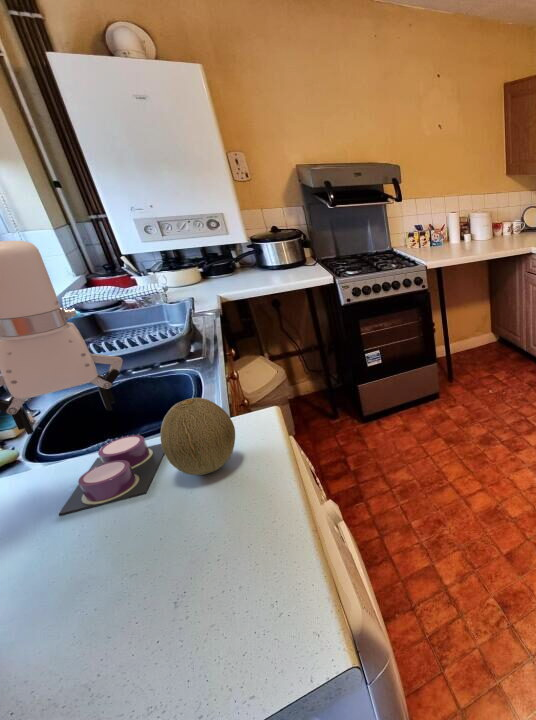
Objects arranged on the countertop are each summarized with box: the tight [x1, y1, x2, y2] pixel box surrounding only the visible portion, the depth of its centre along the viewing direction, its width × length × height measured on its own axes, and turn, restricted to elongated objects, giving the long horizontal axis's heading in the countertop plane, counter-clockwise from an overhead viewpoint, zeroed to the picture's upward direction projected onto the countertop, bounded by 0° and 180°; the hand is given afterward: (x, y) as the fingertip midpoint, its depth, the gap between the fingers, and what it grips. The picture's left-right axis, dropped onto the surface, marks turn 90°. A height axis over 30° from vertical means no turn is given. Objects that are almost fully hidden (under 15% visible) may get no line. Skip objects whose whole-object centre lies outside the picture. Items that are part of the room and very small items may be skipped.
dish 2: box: [77, 460, 136, 502], centre depth 79 cm, size 7×7×4 cm
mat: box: [57, 443, 165, 516], centre depth 83 cm, size 12×17×1 cm
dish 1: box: [97, 434, 150, 467], centre depth 86 cm, size 7×7×4 cm
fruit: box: [160, 397, 236, 476], centre depth 82 cm, size 11×11×15 cm
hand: (71, 418), depth 73 cm, fingers open, 9 cm apart
